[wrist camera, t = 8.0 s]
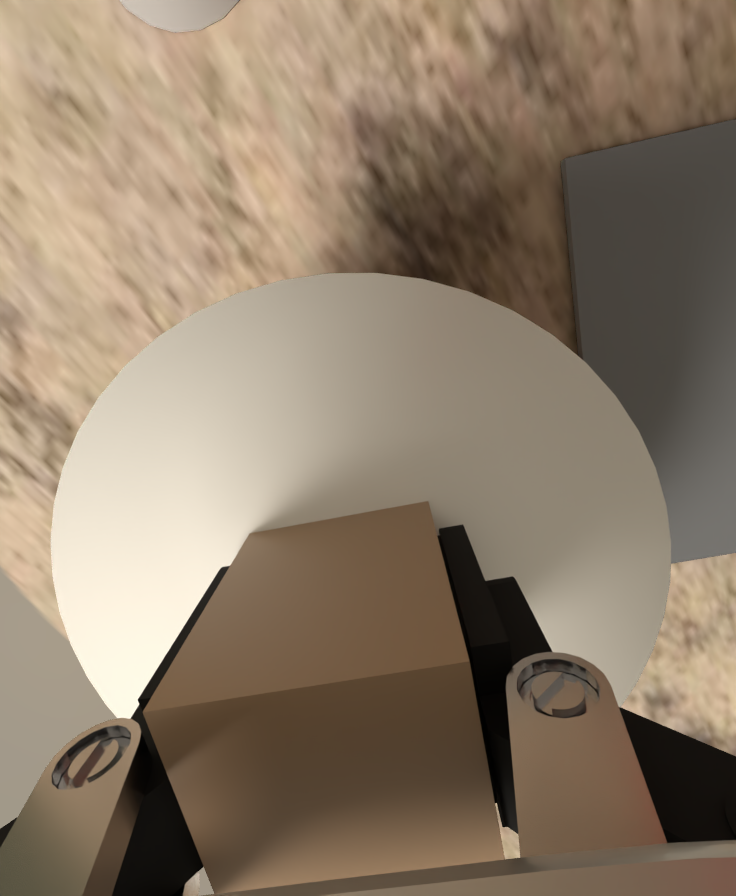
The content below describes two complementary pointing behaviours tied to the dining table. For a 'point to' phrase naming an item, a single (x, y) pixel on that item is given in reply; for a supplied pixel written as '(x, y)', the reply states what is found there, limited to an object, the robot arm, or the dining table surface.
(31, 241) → the dining table surface
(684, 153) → the mat
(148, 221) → the dining table surface
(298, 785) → the lid
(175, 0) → the chalice
